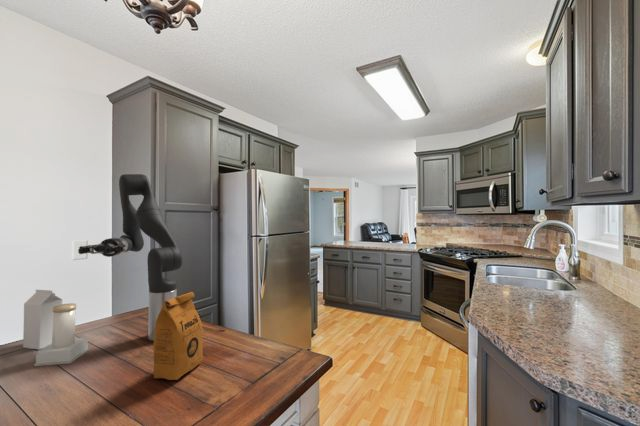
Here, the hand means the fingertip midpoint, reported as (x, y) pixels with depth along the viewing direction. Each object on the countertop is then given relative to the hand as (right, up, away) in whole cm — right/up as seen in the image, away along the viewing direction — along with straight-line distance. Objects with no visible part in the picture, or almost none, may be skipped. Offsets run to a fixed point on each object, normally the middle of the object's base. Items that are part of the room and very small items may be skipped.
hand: (93, 251), depth 109 cm
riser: (+3, -32, -16) cm, 36 cm away
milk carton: (-12, -32, -7) cm, 35 cm away
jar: (+3, -28, -16) cm, 32 cm away
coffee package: (+44, -32, -24) cm, 60 cm away
